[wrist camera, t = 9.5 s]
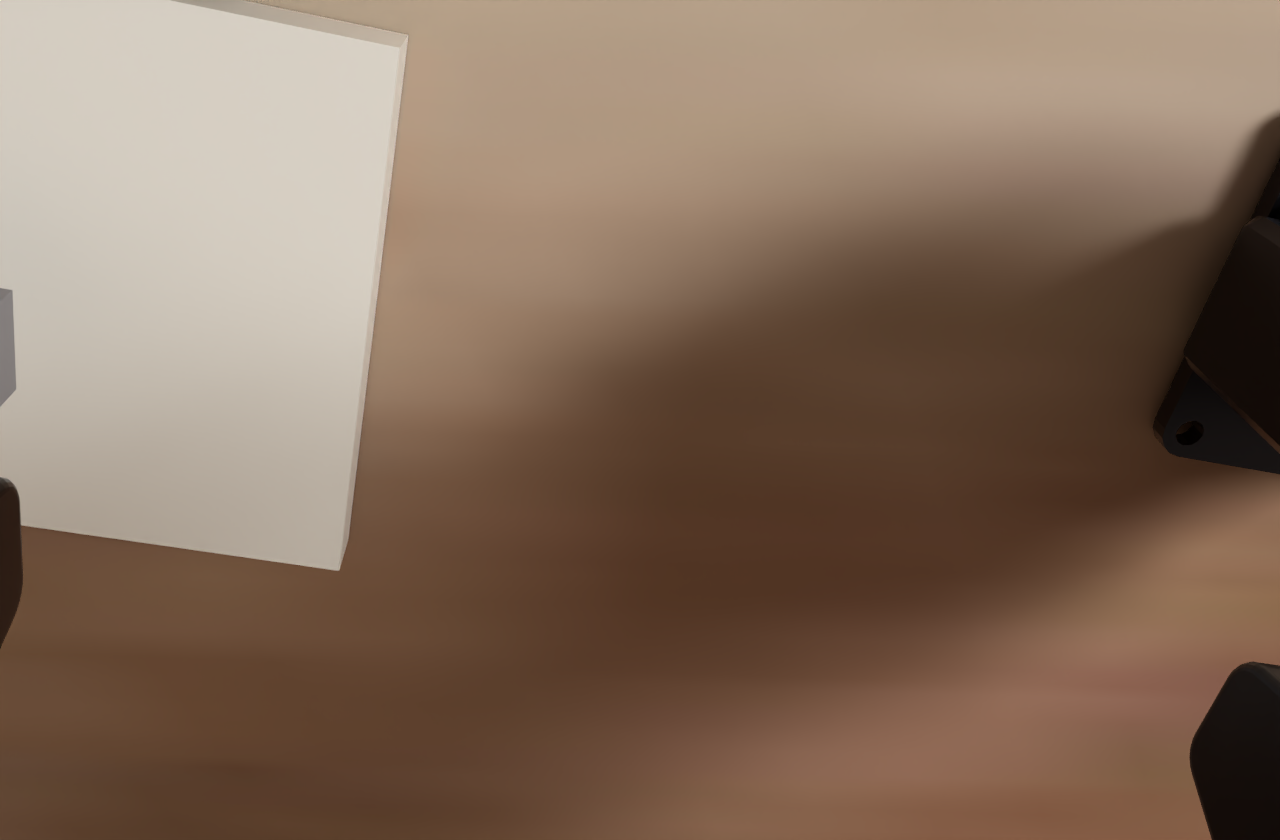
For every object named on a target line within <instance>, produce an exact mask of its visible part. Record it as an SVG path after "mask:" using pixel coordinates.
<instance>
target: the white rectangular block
mask: <svg viewBox="0 0 1280 840" xmlns="http://www.w3.org/2000/svg"><path fill="white" fill-rule="evenodd" d="M407 43H408V35H407V34H402V33H397V32H393V31H388V30H383V29H378V28H374V27H369V26H364V25H359V24H354V23H350V22H345V21H340V20H335V19H331V18H326V17H321V16H316V15H311V14H307V13H302V12H297V11H292V10H288V9H283V8H278V7H273V6H268V5H264V4H259V3H254V2H249V1H245V0H0V477H3V478H7V479H9V480H10V481H11V482H12V483H13V484H14V485H15V486H16V488H17V491H18V494H19V498H20V513H21V525H22V526H29V527H36V528H43V529H50V530H57V531H64V532H71V533H78V534H85V535H92V536H99V537H106V538H113V539H120V540H127V541H134V542H141V543H148V544H155V545H162V546H169V547H176V548H183V549H190V550H197V551H204V552H211V553H218V554H225V555H232V556H239V557H246V558H253V559H260V560H267V561H274V562H281V563H288V564H294V565H301V566H308V567H315V568H322V569H329V570H336V571H339V569H340V566H341V563H342V559H343V556H344V553H345V549H346V546H347V543H348V538H349V530H350V522H351V513H352V505H353V497H354V488H355V480H356V471H357V463H358V455H359V446H360V438H361V429H362V421H363V413H364V404H365V396H366V387H367V379H368V371H369V362H370V354H371V345H372V337H373V329H374V320H375V312H376V303H377V295H378V287H379V278H380V270H381V261H382V253H383V245H384V236H385V228H386V220H387V211H388V203H389V194H390V186H391V178H392V169H393V161H394V152H395V144H396V136H397V127H398V119H399V110H400V102H401V94H402V85H403V77H404V68H405V60H406V52H407Z"/></svg>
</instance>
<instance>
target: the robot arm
mask: <svg viewBox="0 0 1280 840" xmlns="http://www.w3.org/2000/svg"><path fill="white" fill-rule="evenodd" d="M1184 355H1185V357H1184V359H1183V362H1182V364H1181V366H1180V368H1179V370H1178V372H1177V374H1176V376H1175V378H1174V380H1173V382H1172V384H1171V387H1170V389H1169V391H1168V393H1167V395H1166V397H1165V399H1164V401H1163V403H1162V405H1161V407H1160V409H1159V412H1158V414H1157V416H1156V418H1155V421H1154V425H1153V430H1154V435H1155V437H1156V438H1157V439H1158V440H1159V441H1160V443H1161V444H1162V445H1163V446H1164V447H1165V448H1166V449H1167V451H1168V452H1169V453H1171V454H1173V455H1176V456H1179V457H1184V458H1190V459H1196V460H1202V461H1207V462H1213V463H1219V464H1225V465H1230V466H1236V467H1242V468H1248V469H1253V470H1259V471H1265V472H1270V473H1276V474H1280V159H1279V161H1278V163H1277V166H1276V168H1275V170H1274V172H1273V174H1272V176H1271V178H1270V180H1269V182H1268V184H1267V186H1266V189H1265V191H1264V193H1263V195H1262V197H1261V199H1260V201H1259V203H1258V205H1257V207H1256V209H1255V211H1254V214H1253V216H1252V218H1251V220H1250V222H1249V223H1247V224H1246V225H1245V226H1244V227H1243V228H1242V230H1241V232H1240V234H1239V236H1238V238H1237V240H1236V242H1235V244H1234V246H1233V248H1232V250H1231V253H1230V255H1229V257H1228V259H1227V261H1226V263H1225V265H1224V267H1223V269H1222V271H1221V273H1220V276H1219V278H1218V280H1217V282H1216V284H1215V286H1214V288H1213V290H1212V292H1211V294H1210V297H1209V299H1208V301H1207V303H1206V305H1205V307H1204V309H1203V311H1202V313H1201V315H1200V317H1199V320H1198V322H1197V324H1196V326H1195V328H1194V330H1193V332H1192V334H1191V336H1190V338H1189V340H1188V343H1187V345H1186V347H1185V349H1184ZM1188 421H1193V425H1192V426H1191V428H1190V429H1189V430H1188V431H1186V432H1184V433H1182V434H1176V433H1177V430H1178V429H1179V428H1180V426H1181V425H1183V424H1185V423H1186V422H1188ZM22 585H23V564H22V539H21V513H20V498H19V494H18V491H17V488H16V486H15V485H14V484H13V483H12V482H11V481H10V480H9V479H7V478H3V477H0V648H1V646H2V643H3V641H4V639H5V637H6V634H7V632H8V630H9V628H10V626H11V623H12V621H13V619H14V616H15V614H16V611H17V608H18V605H19V602H20V597H21V593H22ZM1190 767H1191V772H1192V776H1193V779H1194V782H1195V786H1196V789H1197V792H1198V795H1199V799H1200V802H1201V805H1202V809H1203V812H1204V815H1205V819H1206V822H1207V825H1208V828H1209V832H1210V835H1211V838H1212V840H1280V666H1279V665H1271V664H1264V663H1258V662H1248V663H1244V664H1241V665H1240V666H1238V667H1237V668H1236V669H1234V670H1233V671H1232V672H1231V674H1230V675H1229V676H1228V678H1227V680H1226V682H1225V683H1224V685H1223V687H1222V688H1221V690H1220V692H1219V694H1218V695H1217V697H1216V699H1215V701H1214V702H1213V704H1212V706H1211V707H1210V709H1209V711H1208V713H1207V714H1206V716H1205V718H1204V719H1203V721H1202V723H1201V725H1200V726H1199V728H1198V730H1197V732H1196V733H1195V735H1194V738H1193V740H1192V744H1191V748H1190Z"/></svg>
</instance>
